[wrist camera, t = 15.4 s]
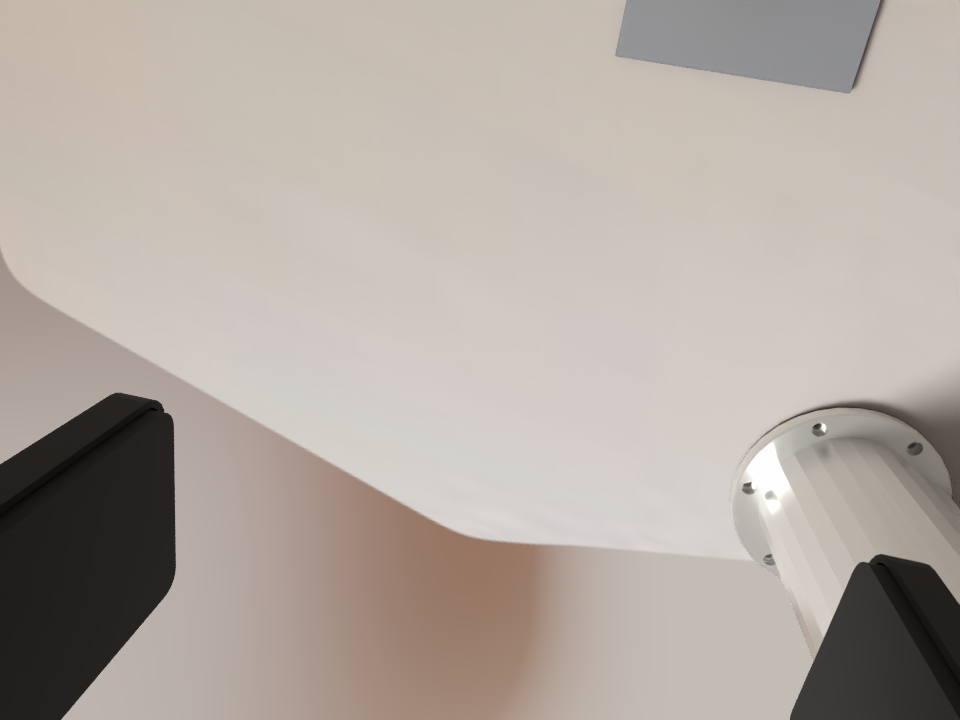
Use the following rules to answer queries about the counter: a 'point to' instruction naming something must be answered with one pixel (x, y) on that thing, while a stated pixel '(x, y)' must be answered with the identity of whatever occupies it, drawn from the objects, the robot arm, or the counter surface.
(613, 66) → the counter surface
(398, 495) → the counter surface
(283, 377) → the counter surface
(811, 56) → the grey mat
